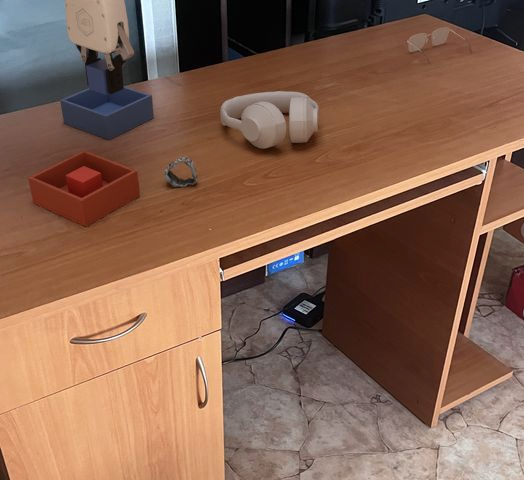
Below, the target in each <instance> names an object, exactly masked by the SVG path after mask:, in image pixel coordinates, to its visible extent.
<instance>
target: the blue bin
mask: <svg viewBox="0 0 524 480" xmlns="http://www.w3.org/2000/svg"><path fill="white" fill-rule="evenodd" d="M59 102H60V107H61V114H62V119H63V124H65V125H68V126H70V127H73V128H75V129H78V130H82V131H84V132H86V133H89V134H92V135H95V136H97V137H99V138H102V139H105V140H108V141H110V140H112V139H114V138H116V137H118V136H120V135H122V134H124V133H126V132H128V131H130V130H132V129H134V128H136V127H139V126H141V125H143V124H144V123H146V122H149V121H151V120H153V119H154V118H155V115H154V104H153V95H152V94H149V93H147V92H143V91H140V90H137V89H134V88H131V87H128V86H125V85H124V88H123V89H122V90H120V91H118V92H115V93H113V94H107V95H104V94H102V93H99V92H96V91H93V90H90V89H89V87H88V88H86V89H83V90H81V91H79V92H76V93H73V94H71V95H69V96H67V97H65V98H62V99H60V100H59Z"/></svg>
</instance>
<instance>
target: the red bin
mask: <svg viewBox="0 0 524 480" xmlns="http://www.w3.org/2000/svg"><path fill="white" fill-rule="evenodd" d="M83 166H85V167H87V168H90V169H92V170H95V171H97V172H100V173H101V177H102V184H103V187H102V188H100V189H98V190H96V191H94V192H92V193H90V194H89V195H87V196H85V197H83V198H80V197H78V196H75V195H73V194H71V193H69V192H68V186H67V181H66V175H67V174H69V173H71V172H73V171H75V170H77V169H79V168H81V167H83ZM27 180H28V183H29V188H30V194H31V199H32V202H33V203H32V204H34V205H36V206H39V207H41V208H42V209H45V210H47V211H49V212H52V213H54V214H56V215H58V216H61V217H63V218H65V219H67V220H70V221H72V222H74V223H76V224H78V225H80V226H83V227H86V228H87V227H88V226H90V225H93V223H95V222H97V221H99V220H100V219H102V218H104V217H106V216H108V215H109V214H111V213H113V212H115V211H116V210H118V209H119V208H121V207H123V206H125V205H127V204H129V203H130V202H132V201H134V200H135V199H138V198H139V197H141V192H140V184H139V174H138V170H137V169H134V168H131V167H129V166H126V165H123V164H121V163H119V162H116V161H113V160H111V159H108V158H106V157H104V156H101V155H99V154H95V153H94V152H93V153H92V152H90V151H87V150H85V149H84V150H82V151H80V152H77V153H76V154H73V155H71V156H69V157H67V158H65V159H64V160H61V161H59V162H57V163H55V164H52V165H50V166H49V167H47V168H45V169H43V170H41V171H39V172H37V173H35V174H32V175H31V176H28V177H27Z"/></svg>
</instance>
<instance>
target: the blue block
mask: <svg viewBox="0 0 524 480" xmlns="http://www.w3.org/2000/svg"><path fill="white" fill-rule="evenodd" d="M86 69H87V77H88V85H89V86H88V85H87V86H88V88H89V89H90V90H93V91H96V92H99V93H102V94H104V95H107V94H109V93H108V90H107V81H106V72H105V70H106V69H108V67H107V63H106V59H105V58H101V60H99V61H97V62H94V63H91V64H89V65H86ZM86 69H85V70H86ZM87 77H86V78H87Z"/></svg>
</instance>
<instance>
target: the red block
mask: <svg viewBox="0 0 524 480" xmlns="http://www.w3.org/2000/svg"><path fill="white" fill-rule="evenodd" d="M66 181H67V186H68V192H69V193H71V194H73V195H75V196H78V197H80V198H83V197H85V196H87V195H89V194H90V193H92V192H94V191H96V190H98V189H100V188H102V187H103V184H102V177H101V173H100V172H97V171H95V170H92V169H90V168H87V167H85V166H83V167H81V168H79V169H77V170H75V171H73V172H71V173H69V174H67V175H66Z"/></svg>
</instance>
